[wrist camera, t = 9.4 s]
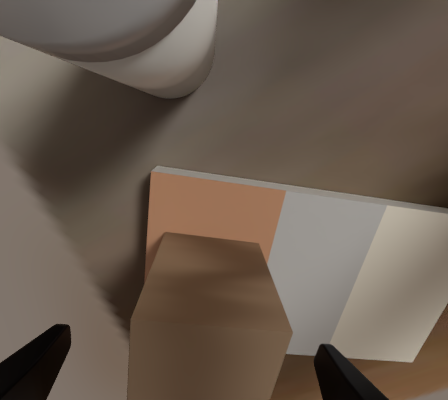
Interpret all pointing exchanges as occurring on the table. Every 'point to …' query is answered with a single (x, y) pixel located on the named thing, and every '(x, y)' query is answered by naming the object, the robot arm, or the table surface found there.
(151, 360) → the block
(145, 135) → the table surface
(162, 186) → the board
